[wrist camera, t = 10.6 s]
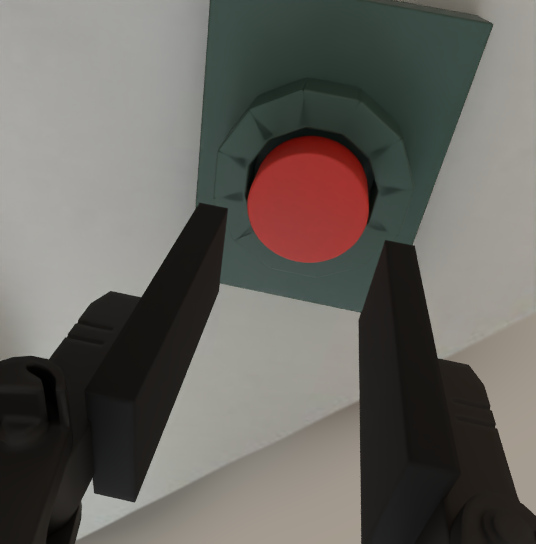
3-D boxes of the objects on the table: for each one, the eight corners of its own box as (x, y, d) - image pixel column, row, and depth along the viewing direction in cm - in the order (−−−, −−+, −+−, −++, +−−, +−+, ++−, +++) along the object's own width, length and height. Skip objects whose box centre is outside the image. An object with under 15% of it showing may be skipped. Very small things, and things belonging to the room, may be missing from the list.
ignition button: (352, 248, 18) (352, 273, 17) (249, 227, 19) (240, 250, 17) (381, 147, 16) (384, 166, 15) (263, 124, 16) (255, 141, 15)
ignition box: (383, 290, 24) (388, 345, 20) (202, 253, 24) (178, 301, 21) (479, 15, 17) (510, 31, 14) (226, -31, 17) (196, -26, 14)
